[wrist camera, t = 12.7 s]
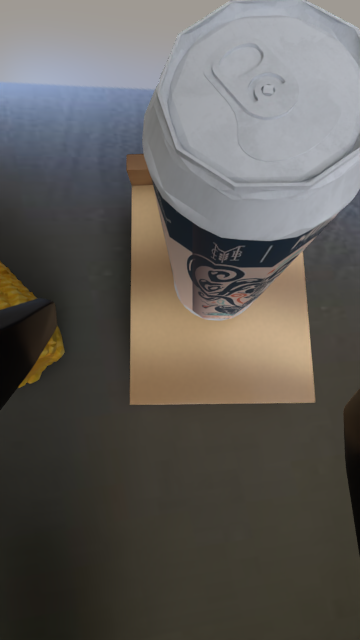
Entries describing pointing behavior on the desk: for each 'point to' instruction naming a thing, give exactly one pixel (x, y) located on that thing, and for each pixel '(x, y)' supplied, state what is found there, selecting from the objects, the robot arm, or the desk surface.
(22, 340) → the robot arm
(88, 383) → the desk surface
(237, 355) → the small wooden stand
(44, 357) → the food
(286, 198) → the drink can
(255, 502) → the desk surface
